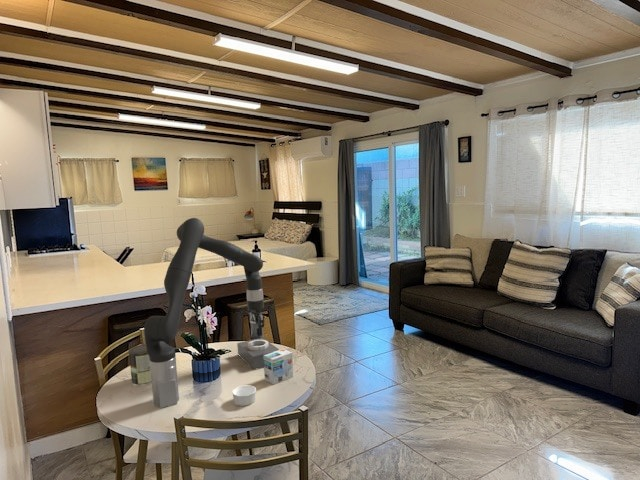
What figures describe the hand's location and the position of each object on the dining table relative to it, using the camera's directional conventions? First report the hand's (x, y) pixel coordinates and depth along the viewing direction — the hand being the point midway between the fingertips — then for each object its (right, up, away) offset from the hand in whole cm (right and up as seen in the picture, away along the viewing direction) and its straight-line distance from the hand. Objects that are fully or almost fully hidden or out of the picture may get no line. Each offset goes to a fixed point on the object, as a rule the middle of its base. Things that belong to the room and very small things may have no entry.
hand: (257, 333), depth 201 cm
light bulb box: (+12, -15, -19) cm, 27 cm away
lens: (0, -2, 0) cm, 1 cm away
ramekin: (+1, -17, -38) cm, 41 cm away
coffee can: (-45, -16, -17) cm, 51 cm away
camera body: (+1, -12, +1) cm, 12 cm away
